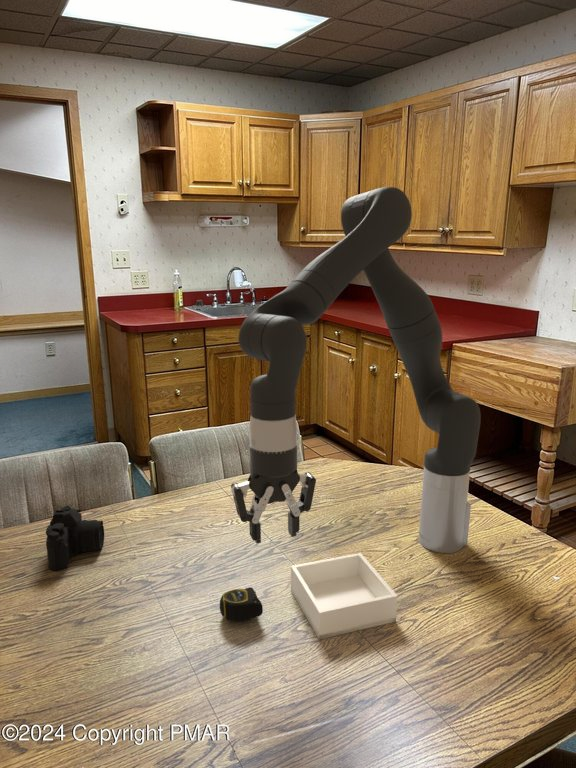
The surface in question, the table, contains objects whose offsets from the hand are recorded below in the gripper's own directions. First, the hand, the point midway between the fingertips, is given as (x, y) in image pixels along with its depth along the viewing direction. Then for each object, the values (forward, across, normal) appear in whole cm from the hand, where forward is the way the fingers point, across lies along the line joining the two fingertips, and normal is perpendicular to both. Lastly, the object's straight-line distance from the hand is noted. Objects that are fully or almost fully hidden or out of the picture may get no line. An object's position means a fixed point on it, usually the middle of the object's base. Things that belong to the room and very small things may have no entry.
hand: (274, 537), depth 94 cm
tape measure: (+15, +3, 0) cm, 15 cm away
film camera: (+15, +32, -32) cm, 48 cm away
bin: (+15, -12, +1) cm, 19 cm away
